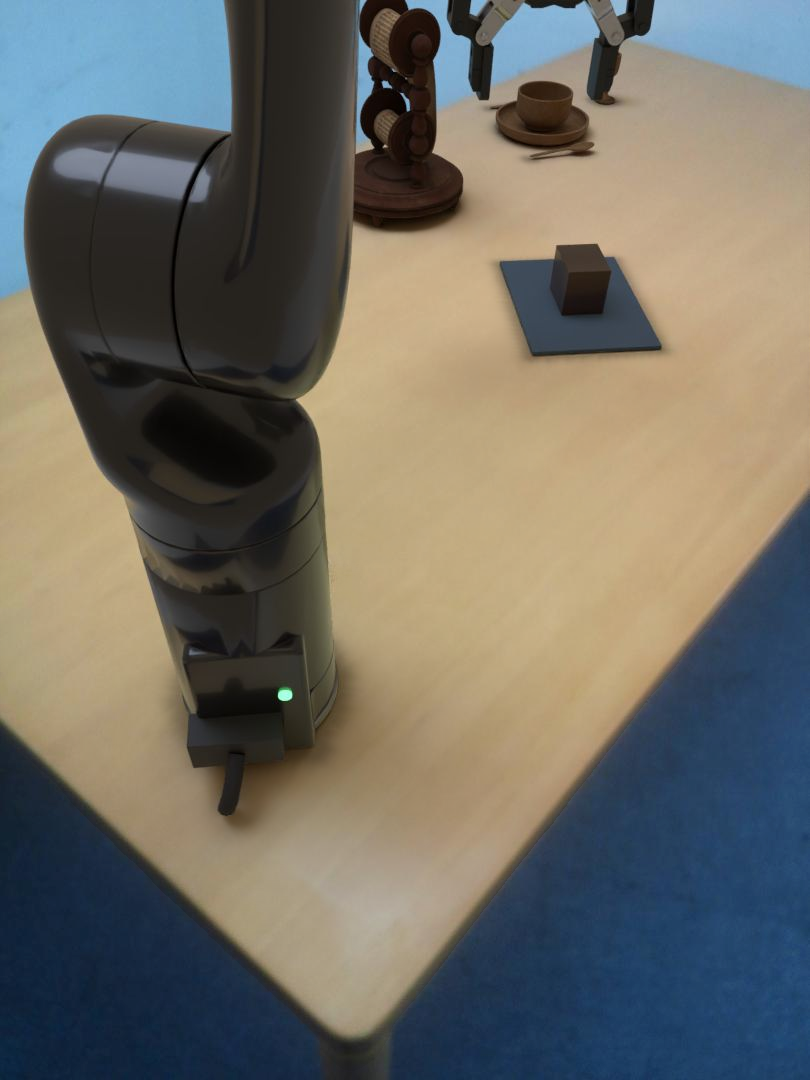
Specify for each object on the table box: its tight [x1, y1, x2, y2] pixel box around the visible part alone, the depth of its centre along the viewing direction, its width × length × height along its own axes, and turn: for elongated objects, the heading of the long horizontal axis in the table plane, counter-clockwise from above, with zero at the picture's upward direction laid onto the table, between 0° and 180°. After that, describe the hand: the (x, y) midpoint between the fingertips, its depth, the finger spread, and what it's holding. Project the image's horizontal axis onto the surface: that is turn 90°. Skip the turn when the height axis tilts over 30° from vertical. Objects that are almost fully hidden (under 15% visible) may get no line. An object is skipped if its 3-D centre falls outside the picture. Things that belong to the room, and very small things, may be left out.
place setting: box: [489, 51, 623, 158], centre depth 111 cm, size 18×20×6 cm
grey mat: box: [499, 256, 663, 356], centre depth 84 cm, size 16×12×1 cm
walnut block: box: [550, 243, 612, 315], centre depth 82 cm, size 5×4×4 cm
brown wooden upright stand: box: [354, 0, 464, 228], centre depth 91 cm, size 15×15×20 cm
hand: (538, 97), depth 65 cm, fingers open, 8 cm apart
